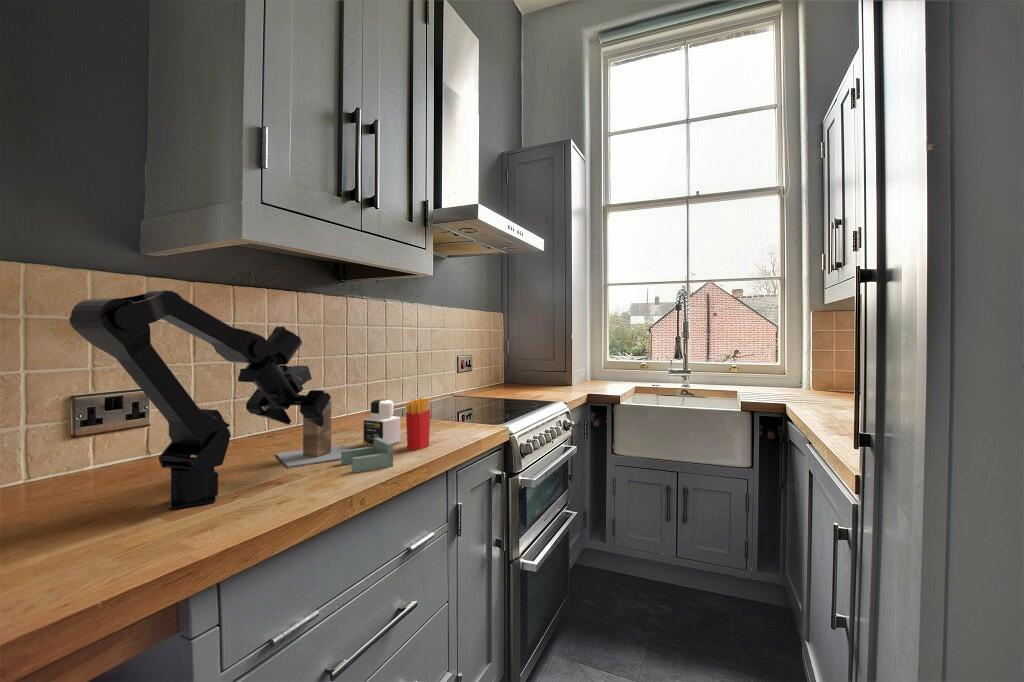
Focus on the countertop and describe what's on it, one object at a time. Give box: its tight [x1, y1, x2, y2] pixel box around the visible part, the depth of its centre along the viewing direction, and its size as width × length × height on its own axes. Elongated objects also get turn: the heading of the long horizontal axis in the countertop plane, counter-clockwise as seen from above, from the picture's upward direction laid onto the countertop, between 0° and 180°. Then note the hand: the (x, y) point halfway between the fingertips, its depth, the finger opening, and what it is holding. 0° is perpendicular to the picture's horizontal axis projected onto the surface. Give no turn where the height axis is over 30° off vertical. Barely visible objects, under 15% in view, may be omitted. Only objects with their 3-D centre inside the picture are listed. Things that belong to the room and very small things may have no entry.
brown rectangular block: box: [302, 400, 332, 457], centre depth 113 cm, size 4×4×13 cm
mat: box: [275, 444, 351, 469], centre depth 113 cm, size 16×14×1 cm
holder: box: [340, 437, 394, 474], centre depth 105 cm, size 9×9×5 cm
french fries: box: [405, 397, 431, 451], centre depth 123 cm, size 9×4×13 cm, turn 160°
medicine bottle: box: [363, 399, 401, 446], centre depth 127 cm, size 7×7×12 cm
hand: (305, 424), depth 109 cm, fingers open, 9 cm apart
